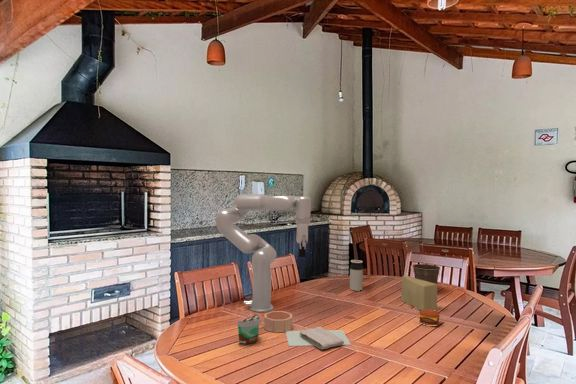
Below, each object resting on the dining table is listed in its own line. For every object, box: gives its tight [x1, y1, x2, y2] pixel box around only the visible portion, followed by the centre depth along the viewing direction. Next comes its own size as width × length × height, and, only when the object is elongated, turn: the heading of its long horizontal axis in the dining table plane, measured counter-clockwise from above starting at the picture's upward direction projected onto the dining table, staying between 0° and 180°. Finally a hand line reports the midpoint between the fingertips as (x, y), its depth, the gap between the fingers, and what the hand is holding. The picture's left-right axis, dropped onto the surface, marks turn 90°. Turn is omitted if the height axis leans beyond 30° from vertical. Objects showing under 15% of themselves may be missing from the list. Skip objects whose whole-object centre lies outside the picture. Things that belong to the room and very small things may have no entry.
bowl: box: [263, 310, 293, 334], centre depth 184 cm, size 13×13×6 cm
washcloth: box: [299, 326, 344, 350], centre depth 169 cm, size 12×18×3 cm, turn 32°
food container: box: [236, 313, 262, 346], centre depth 167 cm, size 12×6×10 cm, turn 148°
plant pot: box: [412, 263, 441, 285], centre depth 247 cm, size 16×16×16 cm
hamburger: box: [417, 309, 441, 325], centre depth 193 cm, size 9×10×7 cm
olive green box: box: [400, 275, 438, 311], centre depth 219 cm, size 22×10×15 cm, turn 25°
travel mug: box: [349, 259, 364, 292], centre depth 250 cm, size 8×8×18 cm
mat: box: [285, 329, 352, 347], centre depth 173 cm, size 26×16×1 cm, turn 95°
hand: (302, 256), depth 203 cm, fingers closed
